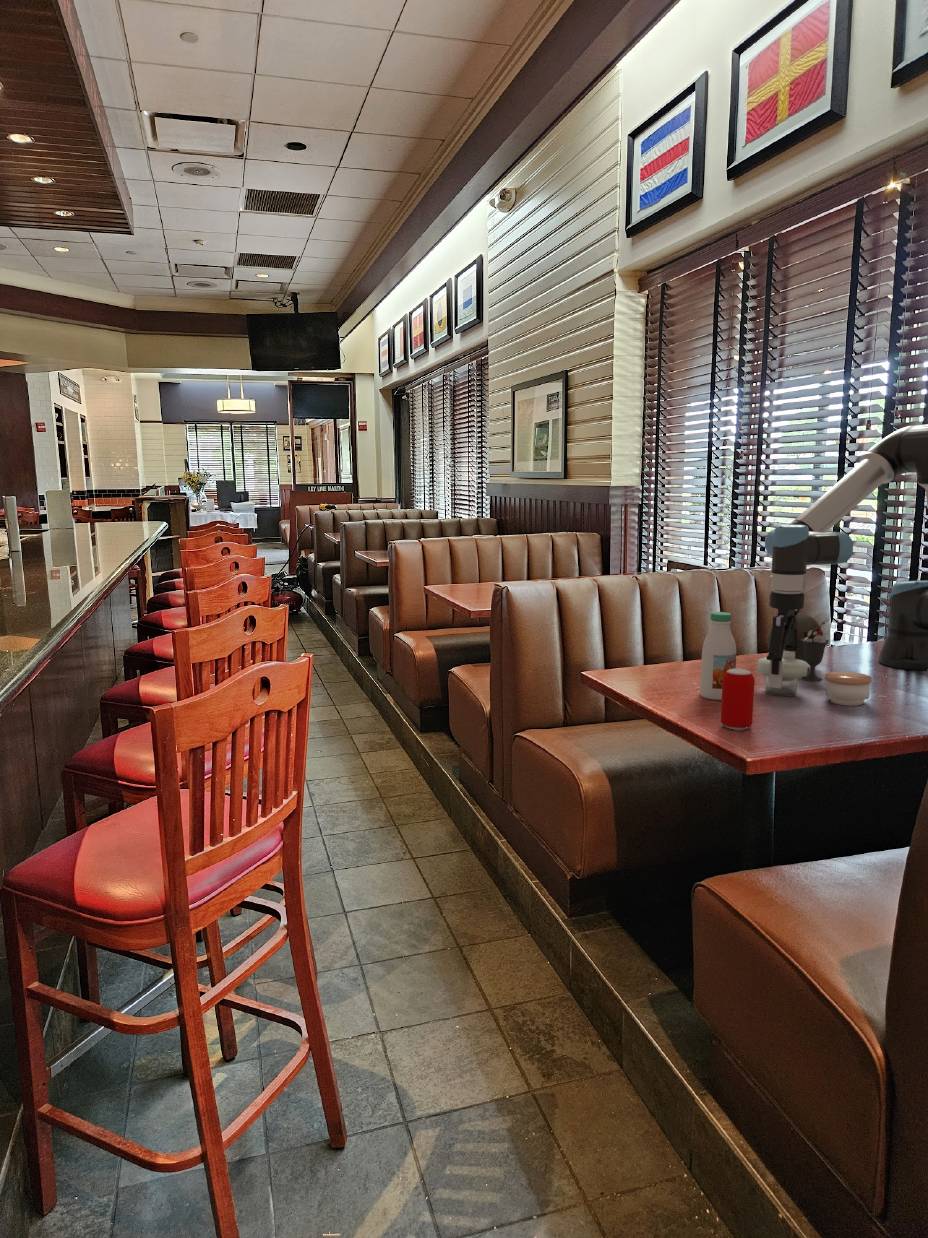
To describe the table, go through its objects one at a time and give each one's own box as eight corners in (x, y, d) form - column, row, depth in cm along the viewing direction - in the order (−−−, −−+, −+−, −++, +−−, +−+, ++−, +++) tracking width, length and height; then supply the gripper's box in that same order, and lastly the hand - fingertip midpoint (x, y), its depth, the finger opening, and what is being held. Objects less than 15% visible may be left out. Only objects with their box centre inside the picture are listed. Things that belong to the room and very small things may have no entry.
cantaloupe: (754, 663, 222) (757, 610, 220) (799, 660, 225) (802, 607, 223) (785, 675, 209) (789, 618, 206) (832, 672, 212) (836, 616, 209)
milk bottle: (698, 699, 187) (702, 614, 184) (701, 691, 195) (705, 609, 191) (733, 702, 185) (737, 616, 181) (735, 694, 192) (739, 611, 188)
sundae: (829, 683, 201) (833, 624, 198) (800, 681, 202) (804, 623, 200) (823, 676, 207) (827, 619, 205) (795, 675, 209) (799, 618, 206)
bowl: (848, 694, 190) (849, 670, 189) (880, 704, 181) (881, 678, 180) (814, 698, 188) (815, 673, 187) (844, 709, 178) (846, 682, 177)
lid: (787, 665, 198) (788, 655, 198) (817, 676, 188) (818, 665, 187) (748, 668, 196) (748, 658, 195) (776, 679, 185) (776, 668, 185)
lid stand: (784, 687, 197) (785, 668, 196) (802, 695, 190) (804, 674, 189) (759, 689, 195) (760, 669, 194) (777, 697, 188) (778, 676, 188)
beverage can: (756, 731, 164) (760, 674, 162) (727, 732, 163) (730, 675, 161) (744, 722, 170) (747, 667, 168) (715, 723, 169) (718, 668, 167)
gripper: (783, 584, 200) (777, 670, 204) (756, 596, 181) (751, 690, 185) (815, 586, 196) (809, 674, 199) (791, 598, 177) (785, 695, 181)
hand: (781, 682), depth 192 cm, fingers closed on lid, 11 cm apart
